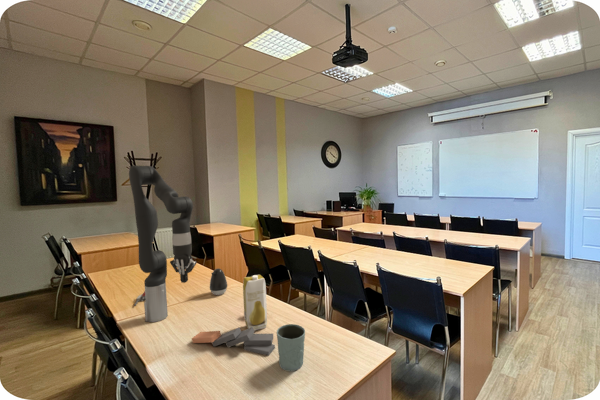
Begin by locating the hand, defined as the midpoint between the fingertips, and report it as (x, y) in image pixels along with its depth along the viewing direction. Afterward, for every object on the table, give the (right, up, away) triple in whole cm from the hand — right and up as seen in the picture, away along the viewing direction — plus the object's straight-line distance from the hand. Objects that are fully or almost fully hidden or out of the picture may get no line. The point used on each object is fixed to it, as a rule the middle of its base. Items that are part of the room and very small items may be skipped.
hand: (184, 282), depth 121 cm
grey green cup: (+48, -23, -22) cm, 57 cm away
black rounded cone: (+2, -20, +45) cm, 50 cm away
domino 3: (+22, -22, -8) cm, 32 cm away
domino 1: (+7, -22, -4) cm, 24 cm away
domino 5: (+30, -22, -10) cm, 38 cm away
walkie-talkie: (-39, -23, +41) cm, 61 cm away
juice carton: (+31, -22, +5) cm, 38 cm away
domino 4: (+29, -20, -9) cm, 36 cm away
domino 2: (+16, -22, -7) cm, 28 cm away
